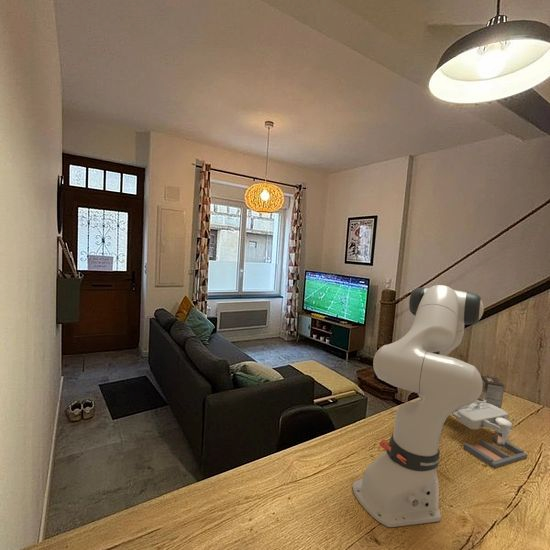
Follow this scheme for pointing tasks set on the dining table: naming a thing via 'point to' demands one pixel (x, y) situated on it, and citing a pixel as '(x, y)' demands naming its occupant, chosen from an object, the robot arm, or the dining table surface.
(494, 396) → the coffee box
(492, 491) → the dining table surface
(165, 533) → the dining table surface
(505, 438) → the milkshake
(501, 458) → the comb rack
